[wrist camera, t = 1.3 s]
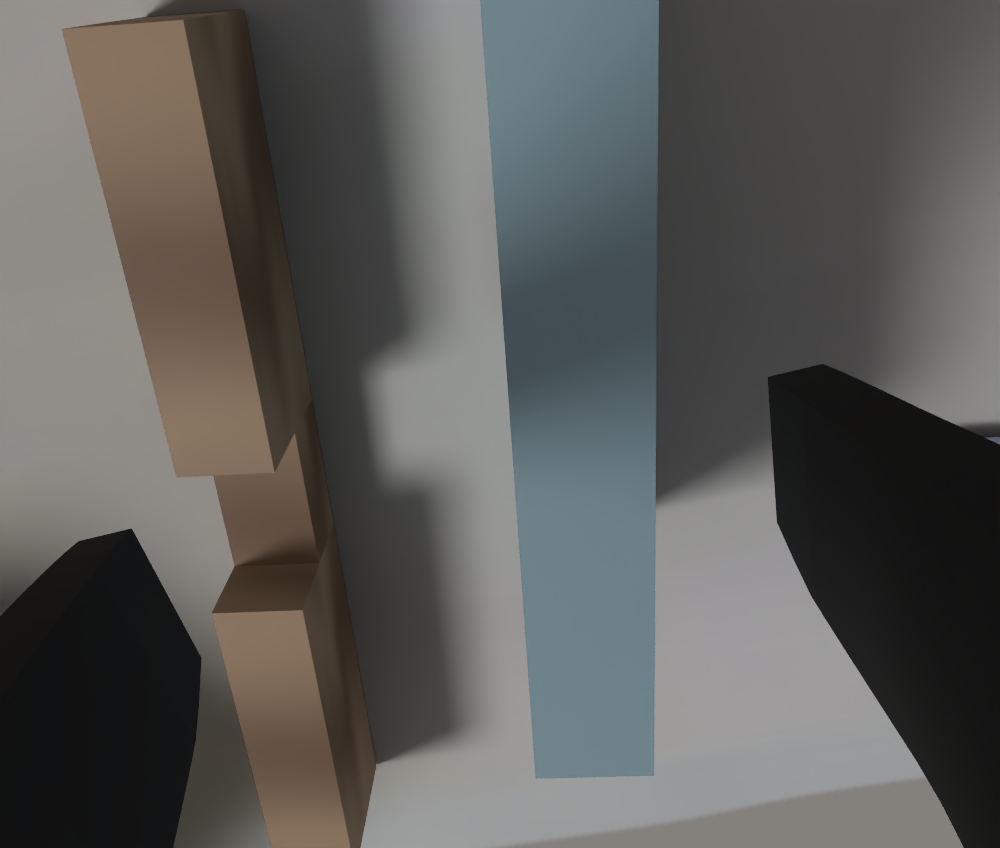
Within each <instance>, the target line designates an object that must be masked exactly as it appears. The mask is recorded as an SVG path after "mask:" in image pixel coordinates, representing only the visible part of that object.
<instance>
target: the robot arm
mask: <svg viewBox="0 0 1000 848" xmlns="http://www.w3.org/2000/svg"><path fill="white" fill-rule="evenodd" d="M768 387H769V403H770V419H771V435H772V450H773V466H774V482H775V498H776V513H777V523H778V525H779V528H780V530H781V532H782V534H783V536H784V539H785V541H786V543H787V545H788V547H789V550H790V552H791V554H792V556H793V559H794V561H795V563H796V565H797V567H798V569H799V571H800V573H801V575H802V578H803V580H804V582H805V584H806V586H807V588H808V590H809V592H810V594H811V596H812V598H813V599H814V601H815V603H816V604H817V606H818V608H819V609H820V611H821V612H822V614H823V616H824V617H825V619H826V620H827V622H828V624H829V625H830V627H831V628H832V630H833V631H834V633H835V635H836V636H837V638H838V639H839V641H840V643H841V644H842V646H843V647H844V649H845V650H846V652H847V654H848V655H849V657H850V658H851V660H852V661H853V663H854V664H855V666H856V668H857V669H858V671H859V672H860V674H861V675H862V677H863V678H864V680H865V682H866V683H867V685H868V686H869V688H870V689H871V691H872V692H873V694H874V696H875V697H876V699H877V700H878V702H879V703H880V705H881V706H882V708H883V710H884V711H885V713H886V714H887V716H888V717H889V719H890V720H891V722H892V723H893V725H894V727H895V728H896V730H897V731H898V733H899V734H900V736H901V737H902V739H903V741H904V742H905V744H906V745H907V747H908V748H909V750H910V751H911V753H912V755H913V756H914V758H915V759H916V761H917V762H918V764H919V766H920V768H921V769H922V771H923V773H924V774H925V776H926V778H927V779H928V781H929V783H930V785H931V786H932V788H933V790H934V791H935V793H936V795H937V797H938V798H939V800H940V801H941V804H942V806H943V807H944V809H945V811H946V813H947V815H948V817H949V819H950V821H951V823H952V825H953V827H954V829H955V831H956V833H957V835H958V837H959V839H960V841H961V843H962V845H963V847H964V848H1000V437H987V438H984V437H982V436H980V435H977V434H975V433H973V432H970V431H968V430H966V429H964V428H962V427H959V426H957V425H955V424H953V423H950V422H948V421H946V420H944V419H942V418H939V417H937V416H935V415H933V414H931V413H929V412H926V411H924V410H922V409H920V408H918V407H916V406H914V405H912V404H909V403H907V402H905V401H903V400H901V399H899V398H897V397H895V396H893V395H890V394H888V393H886V392H884V391H882V390H880V389H878V388H876V387H874V386H871V385H869V384H867V383H865V382H863V381H861V380H859V379H856V378H854V377H852V376H850V375H848V374H845V373H843V372H841V371H839V370H836V369H834V368H831V367H829V366H826V365H824V364H821V365H816V366H812V367H808V368H804V369H800V370H795V371H791V372H787V373H783V374H779V375H774V376H770V377H768ZM200 672H201V657H200V655H199V653H198V651H197V649H196V647H195V645H194V644H193V642H192V640H191V638H190V636H189V634H188V632H187V631H186V629H185V627H184V625H183V623H182V621H181V619H180V617H179V616H178V614H177V612H176V610H175V608H174V606H173V604H172V603H171V601H170V599H169V597H168V595H167V593H166V591H165V590H164V588H163V586H162V584H161V582H160V580H159V578H158V577H157V575H156V573H155V571H154V569H153V567H152V565H151V564H150V562H149V560H148V558H147V556H146V554H145V552H144V551H143V549H142V547H141V545H140V543H139V541H138V539H137V538H136V536H135V534H134V532H133V530H132V529H128V530H124V531H120V532H115V533H111V534H107V535H103V536H99V537H94V538H90V539H86V540H82V541H79V542H77V543H76V544H75V545H74V546H73V547H71V548H70V549H69V550H68V551H67V552H65V553H64V554H63V555H62V556H61V557H60V558H59V559H58V560H56V561H55V562H54V563H53V564H52V565H51V566H50V567H49V568H48V569H47V570H46V571H45V572H44V573H43V574H42V575H41V576H40V577H39V578H38V579H37V580H36V581H35V582H34V583H33V584H32V585H31V586H30V587H29V588H28V589H27V590H26V591H25V592H24V593H23V594H22V595H21V596H20V597H19V598H18V599H17V600H16V601H15V602H14V603H13V604H12V605H11V606H10V607H9V608H8V609H7V610H6V611H5V612H4V613H3V614H2V615H1V616H0V848H173V845H174V841H175V836H176V832H177V827H178V822H179V818H180V813H181V809H182V804H183V799H184V795H185V790H186V785H187V780H188V775H189V771H190V766H191V761H192V756H193V751H194V746H195V741H196V729H197V718H198V707H199V691H200Z"/></svg>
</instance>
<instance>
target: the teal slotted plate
mask: <svg viewBox="0 0 1000 848" xmlns="http://www.w3.org/2000/svg"><path fill="white" fill-rule="evenodd" d="M480 3H481V17H482V31H483V45H484V59H485V73H486V87H487V101H488V115H489V129H490V144H491V158H492V172H493V186H494V200H495V214H496V228H497V242H498V256H499V270H500V284H501V298H502V312H503V326H504V340H505V354H506V368H507V382H508V396H509V410H510V424H511V438H512V452H513V466H514V480H515V495H516V509H517V523H518V537H519V551H520V565H521V579H522V593H523V607H524V621H525V635H526V649H527V663H528V677H529V691H530V705H531V719H532V733H533V747H534V761H535V775H536V778H575V777H616V776H654V681H655V526H656V372H657V217H658V62H659V0H480Z"/></svg>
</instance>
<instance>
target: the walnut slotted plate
mask: <svg viewBox="0 0 1000 848" xmlns="http://www.w3.org/2000/svg"><path fill="white" fill-rule="evenodd" d="M62 32H63V36H64V40H65V44H66V48H67V52H68V56H69V60H70V63H71V67H72V71H73V75H74V79H75V83H76V87H77V91H78V95H79V99H80V102H81V106H82V110H83V114H84V118H85V122H86V126H87V130H88V134H89V137H90V141H91V145H92V149H93V153H94V157H95V161H96V165H97V169H98V173H99V176H100V180H101V184H102V188H103V192H104V196H105V200H106V204H107V208H108V212H109V215H110V219H111V223H112V227H113V231H114V235H115V239H116V243H117V247H118V251H119V254H120V258H121V262H122V266H123V270H124V274H125V278H126V282H127V286H128V290H129V293H130V297H131V301H132V305H133V309H134V313H135V317H136V321H137V325H138V329H139V332H140V336H141V340H142V344H143V348H144V352H145V356H146V360H147V364H148V367H149V371H150V375H151V379H152V383H153V387H154V391H155V395H156V399H157V403H158V406H159V410H160V414H161V418H162V422H163V426H164V430H165V434H166V438H167V442H168V445H169V449H170V453H171V457H172V461H173V465H174V469H175V473H176V477H192V476H214V481H215V485H216V489H217V493H218V497H219V502H220V506H221V510H222V514H223V519H224V523H225V527H226V531H227V536H228V540H229V544H230V548H231V553H232V557H233V561H234V565H235V567H234V569H233V571H232V573H231V575H230V577H229V579H228V581H227V583H226V585H225V587H224V589H223V591H222V593H221V595H220V597H219V599H218V602H217V604H216V606H215V608H214V610H213V612H212V617H213V621H214V625H215V629H216V633H217V636H218V640H219V644H220V648H221V652H222V656H223V660H224V664H225V668H226V672H227V675H228V679H229V683H230V687H231V691H232V695H233V699H234V703H235V707H236V711H237V714H238V718H239V722H240V726H241V730H242V734H243V738H244V742H245V746H246V750H247V753H248V757H249V761H250V765H251V769H252V773H253V777H254V781H255V785H256V789H257V792H258V796H259V800H260V804H261V808H262V812H263V816H264V820H265V824H266V828H267V831H268V835H269V839H270V843H271V847H272V848H360V847H361V842H362V836H363V831H364V826H365V821H366V816H367V811H368V806H369V800H370V795H371V790H372V785H373V780H374V775H375V770H376V762H375V756H374V750H373V745H372V739H371V733H370V728H369V722H368V716H367V710H366V705H365V699H364V693H363V687H362V682H361V676H360V670H359V665H358V659H357V653H356V647H355V642H354V636H353V630H352V625H351V619H350V613H349V607H348V602H347V596H346V590H345V584H344V579H343V573H342V567H341V562H340V556H339V550H338V544H337V539H336V533H335V527H334V521H333V516H332V510H331V504H330V499H329V493H328V487H327V481H326V476H325V470H324V464H323V459H322V453H321V447H320V441H319V436H318V430H317V424H316V418H315V413H314V407H313V401H312V396H311V390H310V384H309V378H308V373H307V367H306V361H305V355H304V350H303V344H302V338H301V333H300V327H299V321H298V315H297V310H296V304H295V298H294V292H293V287H292V281H291V275H290V270H289V264H288V258H287V252H286V247H285V241H284V235H283V230H282V224H281V218H280V212H279V207H278V201H277V195H276V189H275V184H274V178H273V172H272V167H271V161H270V155H269V149H268V144H267V138H266V132H265V126H264V121H263V115H262V109H261V104H260V98H259V92H258V86H257V81H256V75H255V69H254V63H253V58H252V52H251V46H250V41H249V35H248V29H247V23H246V18H245V12H244V10H234V11H220V12H207V13H194V14H180V15H167V16H154V17H142V18H135V19H128V20H121V21H114V22H107V23H100V24H93V25H86V26H79V27H72V28H65V29H62Z"/></svg>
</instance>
